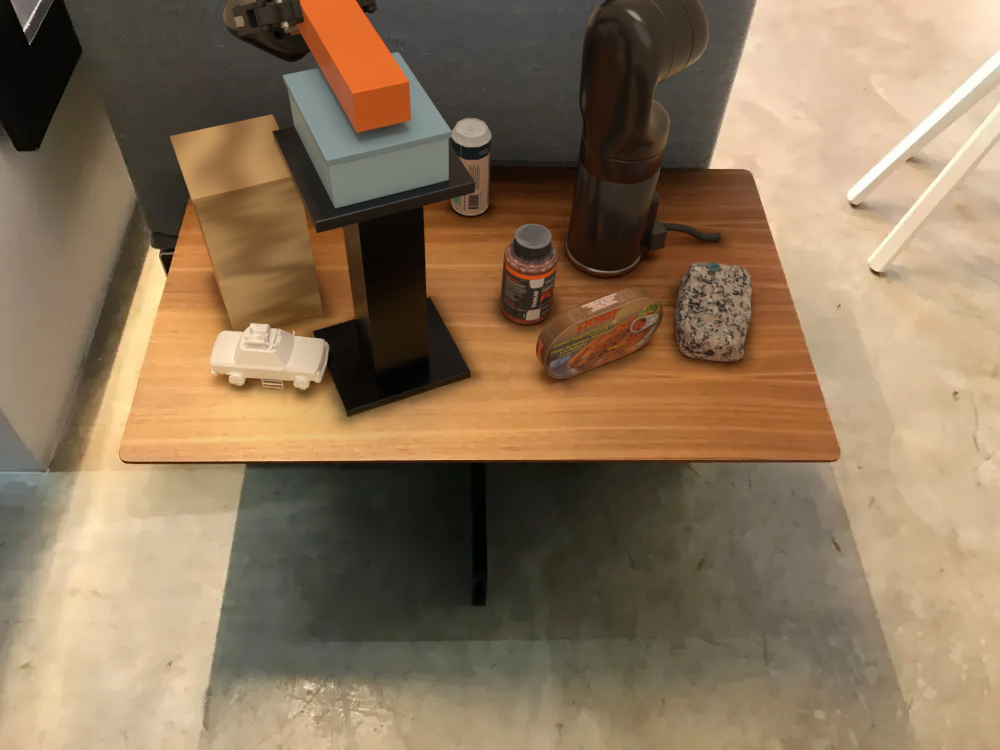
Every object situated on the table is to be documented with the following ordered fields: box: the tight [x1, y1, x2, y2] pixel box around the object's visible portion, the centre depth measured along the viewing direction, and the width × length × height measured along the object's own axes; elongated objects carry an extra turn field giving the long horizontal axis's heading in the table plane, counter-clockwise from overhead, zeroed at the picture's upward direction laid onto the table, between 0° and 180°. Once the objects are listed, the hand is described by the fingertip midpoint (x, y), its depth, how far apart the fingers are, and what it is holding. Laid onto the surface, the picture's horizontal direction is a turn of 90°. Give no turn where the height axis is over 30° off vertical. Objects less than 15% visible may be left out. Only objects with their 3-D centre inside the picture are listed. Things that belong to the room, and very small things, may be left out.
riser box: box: [169, 114, 324, 332], centre depth 92 cm, size 10×10×20 cm
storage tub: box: [282, 51, 452, 208], centre depth 72 cm, size 10×12×5 cm
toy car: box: [208, 323, 329, 391], centre depth 90 cm, size 6×12×7 cm, turn 87°
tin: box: [535, 285, 664, 380], centre depth 93 cm, size 15×3×8 cm, turn 117°
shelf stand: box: [272, 125, 475, 418], centre depth 84 cm, size 14×13×27 cm
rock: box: [673, 261, 753, 363], centre depth 98 cm, size 13×9×4 cm
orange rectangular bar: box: [296, 0, 411, 133], centre depth 71 cm, size 4×19×4 cm, turn 24°
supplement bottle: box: [500, 223, 559, 325], centre depth 95 cm, size 6×6×11 cm
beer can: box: [450, 117, 492, 216], centre depth 106 cm, size 5×5×12 cm
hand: (327, 3), depth 72 cm, fingers closed on orange rectangular bar, 4 cm apart
